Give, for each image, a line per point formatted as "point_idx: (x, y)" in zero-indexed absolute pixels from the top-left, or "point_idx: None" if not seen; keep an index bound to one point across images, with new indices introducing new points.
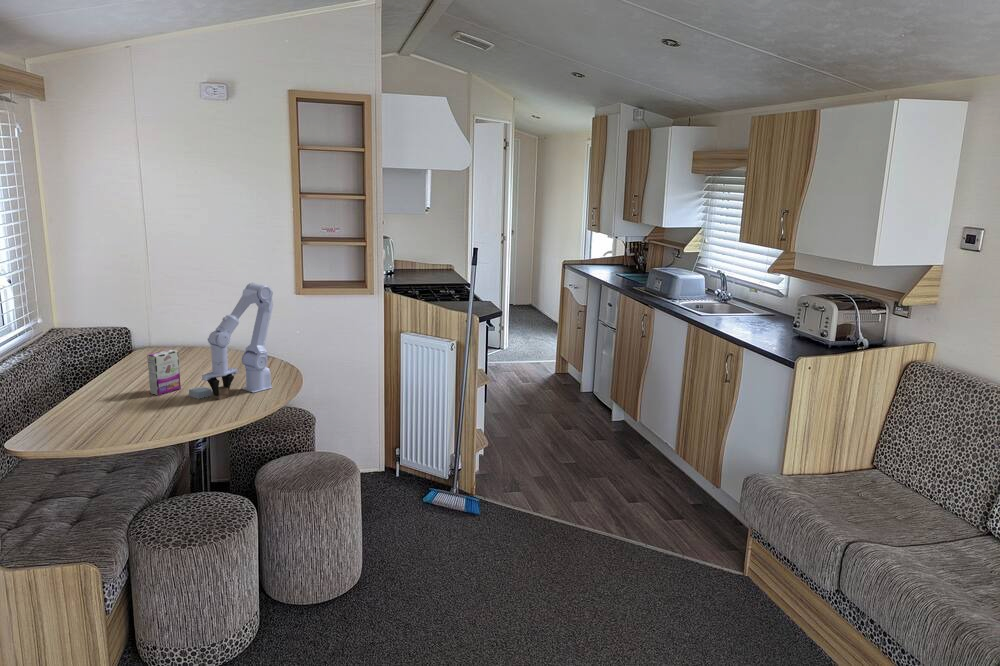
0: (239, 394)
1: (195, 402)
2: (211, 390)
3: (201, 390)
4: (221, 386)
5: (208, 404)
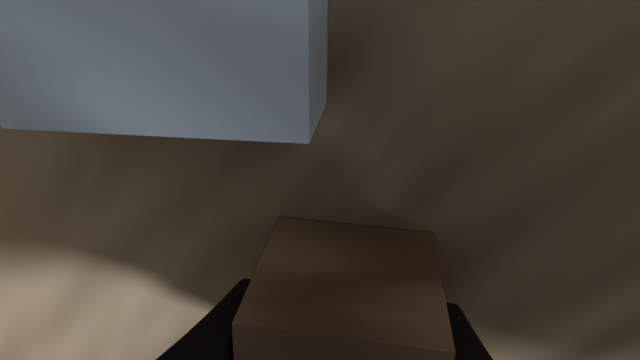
0: (614, 356)
1: (3, 189)
2: (312, 135)
3: (109, 55)
4: (423, 357)
5: (98, 349)
